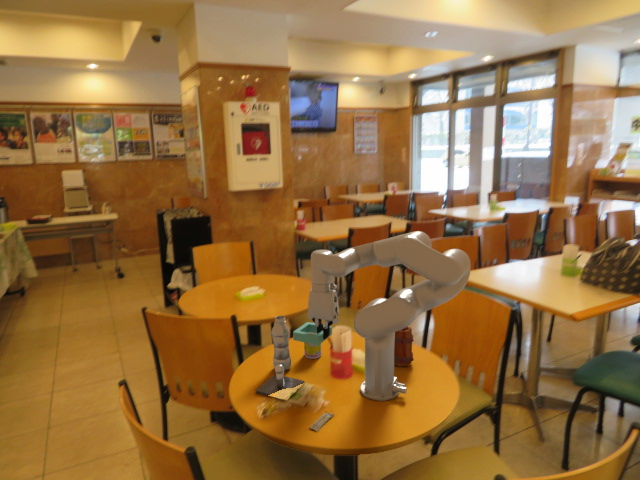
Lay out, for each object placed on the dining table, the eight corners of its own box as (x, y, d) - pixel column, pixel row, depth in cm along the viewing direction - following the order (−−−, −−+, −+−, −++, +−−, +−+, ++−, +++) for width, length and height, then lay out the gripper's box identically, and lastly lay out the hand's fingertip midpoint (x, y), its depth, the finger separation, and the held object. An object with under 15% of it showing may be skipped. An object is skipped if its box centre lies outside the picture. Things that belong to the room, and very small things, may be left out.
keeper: (304, 383, 151) (303, 360, 149) (286, 401, 140) (285, 376, 139) (275, 376, 156) (273, 354, 154) (255, 393, 146) (254, 369, 144)
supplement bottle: (306, 351, 175) (305, 321, 173) (322, 352, 174) (321, 321, 172) (303, 359, 169) (302, 327, 166) (320, 359, 168) (319, 328, 165)
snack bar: (317, 431, 124) (309, 425, 126) (316, 435, 125) (308, 429, 126) (334, 414, 132) (326, 408, 134) (333, 417, 133) (325, 412, 134)
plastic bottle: (290, 372, 158) (288, 320, 154) (272, 373, 159) (269, 321, 155) (292, 364, 165) (290, 314, 161) (274, 364, 165) (271, 314, 161)
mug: (418, 363, 163) (419, 325, 160) (407, 371, 157) (408, 332, 154) (385, 352, 173) (385, 316, 170) (373, 359, 167) (373, 322, 164)
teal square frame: (331, 334, 156) (331, 326, 155) (318, 345, 147) (318, 337, 147) (307, 329, 161) (307, 321, 160) (293, 339, 152) (293, 331, 151)
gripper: (348, 286, 148) (348, 337, 151) (307, 280, 155) (309, 329, 159) (338, 292, 141) (339, 345, 145) (297, 286, 148) (298, 337, 152)
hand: (323, 336), depth 152 cm, fingers closed on teal square frame, 1 cm apart
